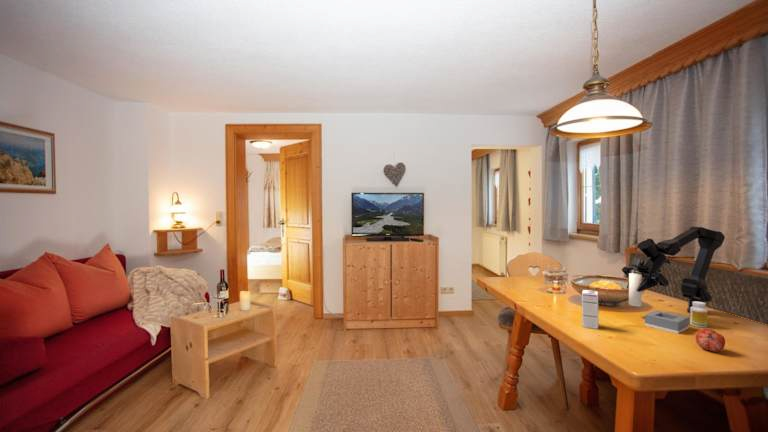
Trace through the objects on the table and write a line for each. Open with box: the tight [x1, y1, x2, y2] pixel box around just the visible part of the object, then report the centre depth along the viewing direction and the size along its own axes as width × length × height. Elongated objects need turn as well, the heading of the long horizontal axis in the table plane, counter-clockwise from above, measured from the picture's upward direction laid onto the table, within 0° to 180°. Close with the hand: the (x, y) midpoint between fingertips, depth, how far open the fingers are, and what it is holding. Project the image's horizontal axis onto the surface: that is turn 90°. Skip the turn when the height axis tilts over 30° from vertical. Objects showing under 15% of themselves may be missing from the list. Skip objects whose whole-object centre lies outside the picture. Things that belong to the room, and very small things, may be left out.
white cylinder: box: [628, 273, 643, 307], centre depth 151 cm, size 5×5×14 cm
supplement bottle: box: [689, 301, 709, 329], centre depth 140 cm, size 5×5×10 cm
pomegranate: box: [695, 328, 726, 353], centre depth 117 cm, size 7×7×10 cm
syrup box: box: [581, 289, 600, 330], centre depth 140 cm, size 6×6×14 cm
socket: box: [644, 309, 690, 334], centre depth 139 cm, size 11×11×4 cm
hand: (632, 289), depth 151 cm, fingers closed on white cylinder, 5 cm apart
